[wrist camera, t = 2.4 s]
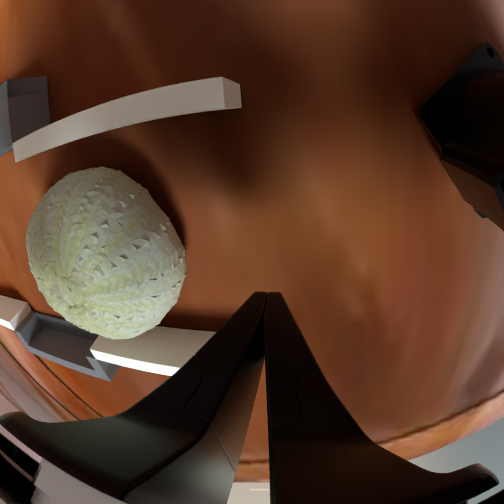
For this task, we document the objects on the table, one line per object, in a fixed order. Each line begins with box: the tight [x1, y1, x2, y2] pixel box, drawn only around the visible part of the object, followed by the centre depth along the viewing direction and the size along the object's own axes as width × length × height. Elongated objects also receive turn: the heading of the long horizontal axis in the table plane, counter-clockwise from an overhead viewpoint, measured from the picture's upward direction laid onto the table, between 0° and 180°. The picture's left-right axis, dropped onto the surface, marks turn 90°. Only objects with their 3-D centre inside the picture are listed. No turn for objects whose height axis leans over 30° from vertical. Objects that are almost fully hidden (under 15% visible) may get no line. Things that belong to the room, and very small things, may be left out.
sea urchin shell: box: [26, 166, 187, 340], centre depth 12 cm, size 9×8×8 cm
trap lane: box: [0, 76, 242, 381], centre depth 13 cm, size 31×20×3 cm, turn 95°
